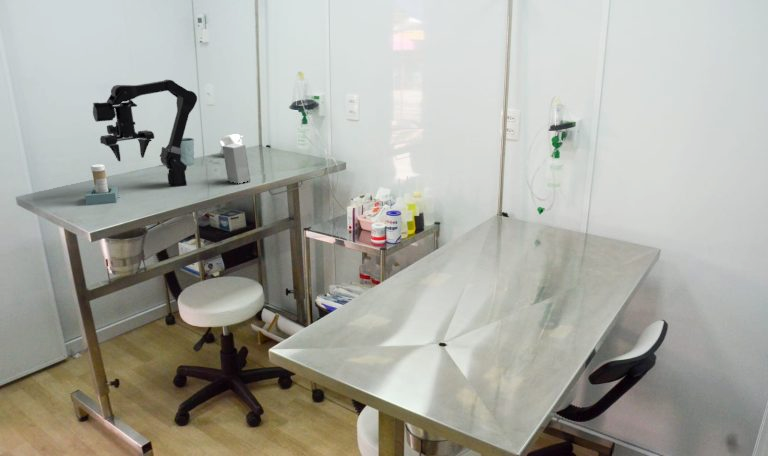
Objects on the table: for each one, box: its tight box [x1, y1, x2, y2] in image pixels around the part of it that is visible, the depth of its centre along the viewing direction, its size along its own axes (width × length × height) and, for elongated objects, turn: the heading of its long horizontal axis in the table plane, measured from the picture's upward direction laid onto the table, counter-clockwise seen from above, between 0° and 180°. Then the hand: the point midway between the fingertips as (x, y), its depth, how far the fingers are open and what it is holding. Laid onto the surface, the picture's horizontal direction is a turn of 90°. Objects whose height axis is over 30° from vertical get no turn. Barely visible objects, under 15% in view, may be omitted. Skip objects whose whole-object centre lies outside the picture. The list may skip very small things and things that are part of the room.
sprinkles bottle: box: [90, 163, 109, 194], centre depth 207 cm, size 5×5×14 cm
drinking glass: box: [180, 137, 195, 167], centre depth 265 cm, size 10×10×12 cm
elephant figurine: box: [219, 133, 244, 156], centre depth 280 cm, size 12×18×12 cm
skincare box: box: [222, 144, 252, 185], centre depth 232 cm, size 8×7×16 cm
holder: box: [84, 186, 120, 206], centre depth 208 cm, size 10×10×4 cm
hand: (131, 159), depth 216 cm, fingers open, 9 cm apart
